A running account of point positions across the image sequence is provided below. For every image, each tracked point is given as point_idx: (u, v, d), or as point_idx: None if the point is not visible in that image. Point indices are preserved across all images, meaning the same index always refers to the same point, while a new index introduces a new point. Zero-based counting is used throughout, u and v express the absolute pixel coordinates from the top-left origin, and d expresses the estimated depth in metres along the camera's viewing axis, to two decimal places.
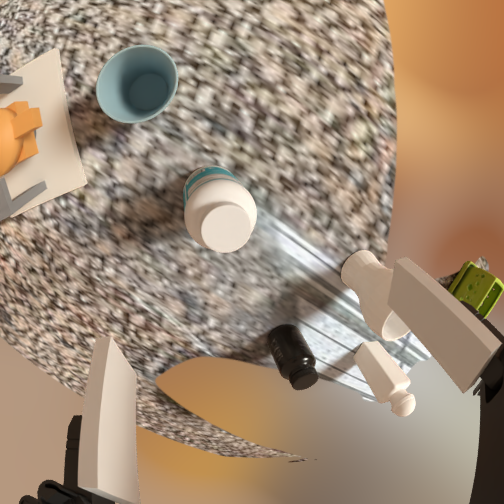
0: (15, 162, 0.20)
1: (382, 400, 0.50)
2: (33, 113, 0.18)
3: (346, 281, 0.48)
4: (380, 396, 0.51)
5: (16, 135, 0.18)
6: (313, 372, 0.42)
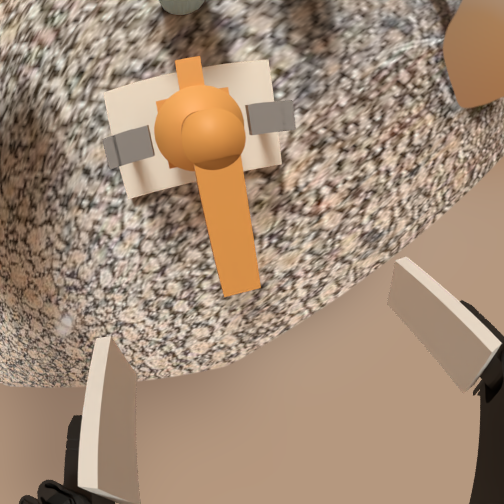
0: None
1: None
2: (182, 59, 0.19)
3: None
4: None
5: (201, 81, 0.21)
6: None
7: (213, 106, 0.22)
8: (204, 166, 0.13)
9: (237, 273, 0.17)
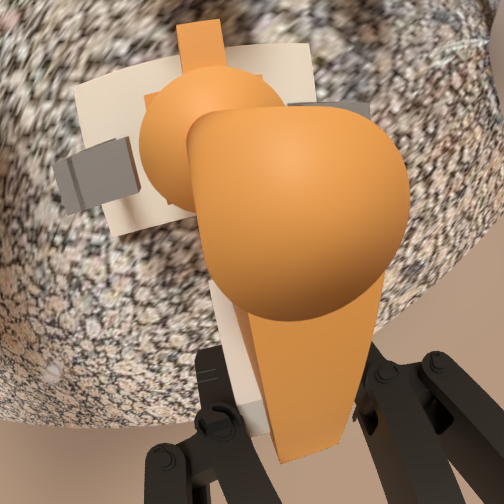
0: None
1: None
2: (188, 24, 0.10)
3: None
4: None
5: (221, 60, 0.11)
6: None
7: (242, 104, 0.13)
8: (281, 315, 0.04)
9: (309, 443, 0.08)
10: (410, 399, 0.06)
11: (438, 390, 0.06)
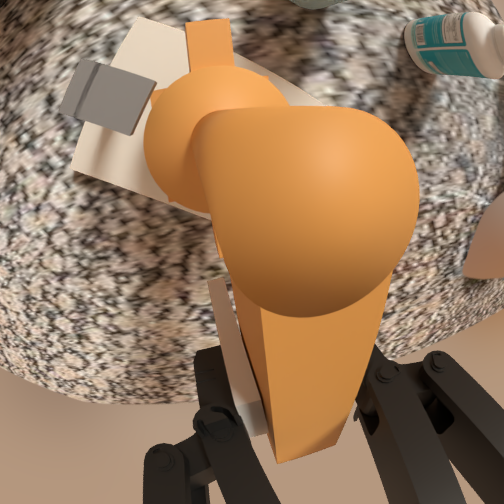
0: None
1: None
2: (198, 22, 0.10)
3: None
4: None
5: (229, 59, 0.11)
6: None
7: (248, 104, 0.13)
8: (292, 311, 0.04)
9: (307, 443, 0.08)
10: (411, 398, 0.06)
11: (439, 389, 0.06)
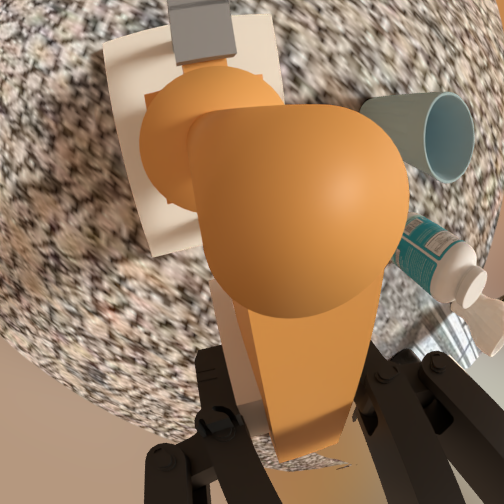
0: None
1: None
2: None
3: (456, 308, 0.45)
4: None
5: (221, 60, 0.11)
6: None
7: (242, 103, 0.13)
8: (281, 312, 0.04)
9: (308, 443, 0.08)
10: (410, 399, 0.06)
11: (438, 390, 0.06)
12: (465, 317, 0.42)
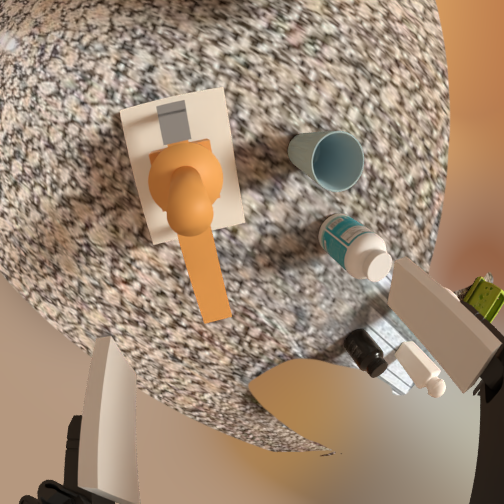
0: (211, 152, 0.29)
1: (421, 386, 0.62)
2: None
3: None
4: (419, 383, 0.62)
5: None
6: (385, 363, 0.54)
7: (196, 161, 0.27)
8: (184, 234, 0.19)
9: (213, 306, 0.22)
10: None
11: None
12: None
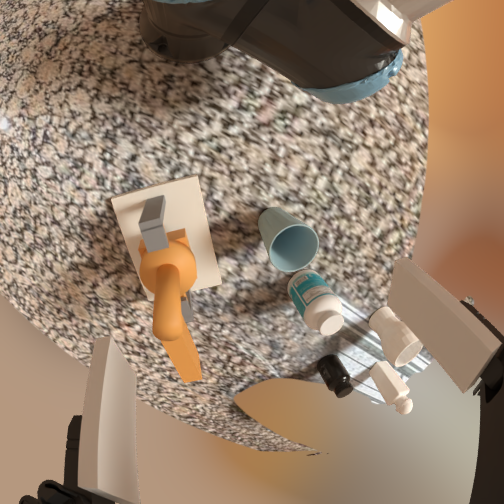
0: (187, 247, 0.38)
1: (389, 403, 0.71)
2: None
3: (372, 327, 0.68)
4: (388, 400, 0.72)
5: None
6: (350, 386, 0.63)
7: (175, 260, 0.36)
8: (165, 340, 0.28)
9: (189, 374, 0.31)
10: None
11: None
12: (378, 334, 0.66)
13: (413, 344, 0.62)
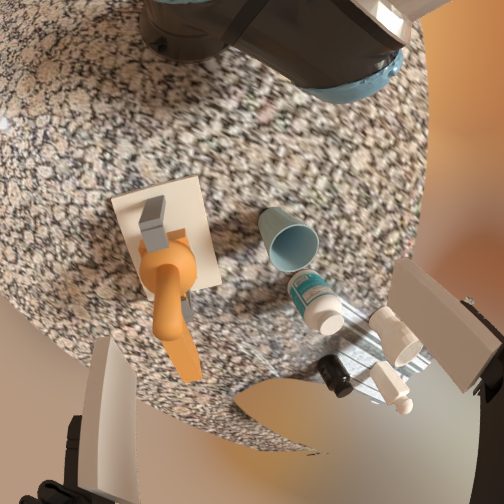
0: (187, 247, 0.38)
1: (389, 403, 0.71)
2: None
3: (372, 327, 0.68)
4: (388, 400, 0.72)
5: None
6: (350, 386, 0.63)
7: (175, 260, 0.36)
8: (165, 340, 0.28)
9: (189, 374, 0.31)
10: None
11: None
12: (378, 334, 0.66)
13: (413, 344, 0.62)
